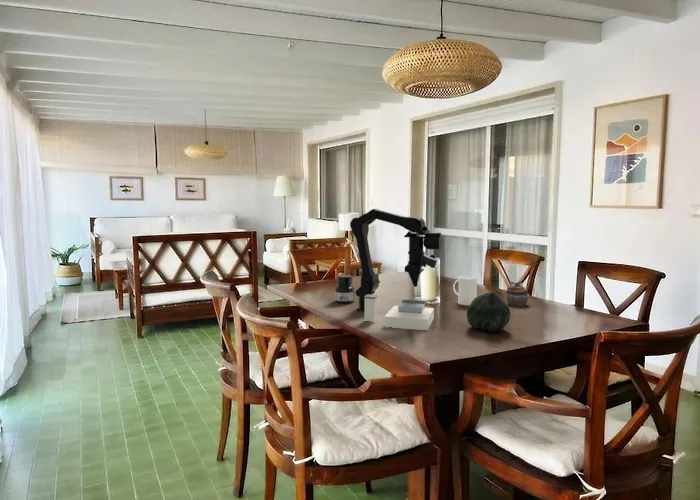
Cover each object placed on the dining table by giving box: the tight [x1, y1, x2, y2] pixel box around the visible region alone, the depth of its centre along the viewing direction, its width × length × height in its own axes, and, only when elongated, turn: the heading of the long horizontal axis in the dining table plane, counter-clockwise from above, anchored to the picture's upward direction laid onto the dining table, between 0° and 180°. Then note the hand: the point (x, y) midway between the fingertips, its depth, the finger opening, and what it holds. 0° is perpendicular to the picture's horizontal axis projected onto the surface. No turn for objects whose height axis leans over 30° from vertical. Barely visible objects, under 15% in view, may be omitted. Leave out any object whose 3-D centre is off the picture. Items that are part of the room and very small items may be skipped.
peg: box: [364, 294, 378, 323], centre depth 193 cm, size 4×4×10 cm
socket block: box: [383, 305, 435, 331], centre depth 191 cm, size 19×16×4 cm
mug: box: [452, 275, 478, 306], centre depth 226 cm, size 12×8×12 cm
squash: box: [466, 291, 511, 333], centre depth 180 cm, size 14×15×15 cm
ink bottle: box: [334, 274, 355, 304], centre depth 228 cm, size 10×9×12 cm
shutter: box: [397, 299, 426, 313], centre depth 194 cm, size 8×9×3 cm
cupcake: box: [505, 281, 530, 307], centre depth 223 cm, size 10×10×10 cm
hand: (415, 286), depth 203 cm, fingers closed
